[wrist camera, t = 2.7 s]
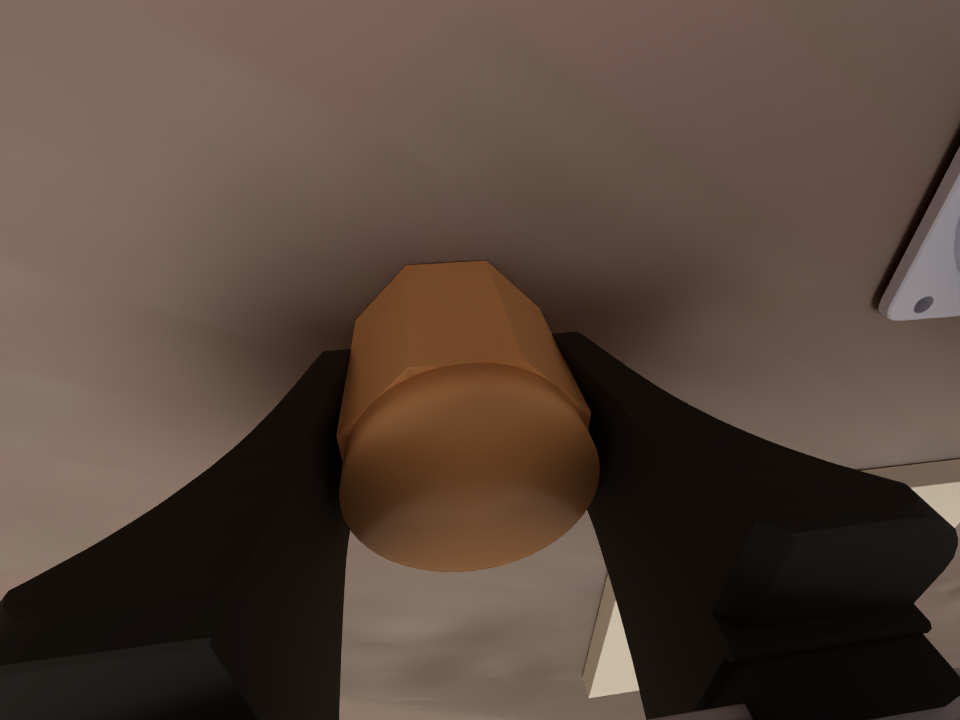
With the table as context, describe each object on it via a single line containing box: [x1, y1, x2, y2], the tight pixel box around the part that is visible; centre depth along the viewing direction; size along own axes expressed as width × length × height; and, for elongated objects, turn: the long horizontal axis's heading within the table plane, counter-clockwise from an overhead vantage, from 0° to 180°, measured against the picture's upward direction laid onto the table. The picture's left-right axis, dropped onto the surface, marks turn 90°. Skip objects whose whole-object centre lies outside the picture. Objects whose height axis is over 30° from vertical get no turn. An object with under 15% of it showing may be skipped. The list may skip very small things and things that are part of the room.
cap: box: [336, 260, 600, 572], centre depth 11 cm, size 5×5×5 cm
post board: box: [583, 459, 960, 698], centre depth 20 cm, size 14×14×5 cm
